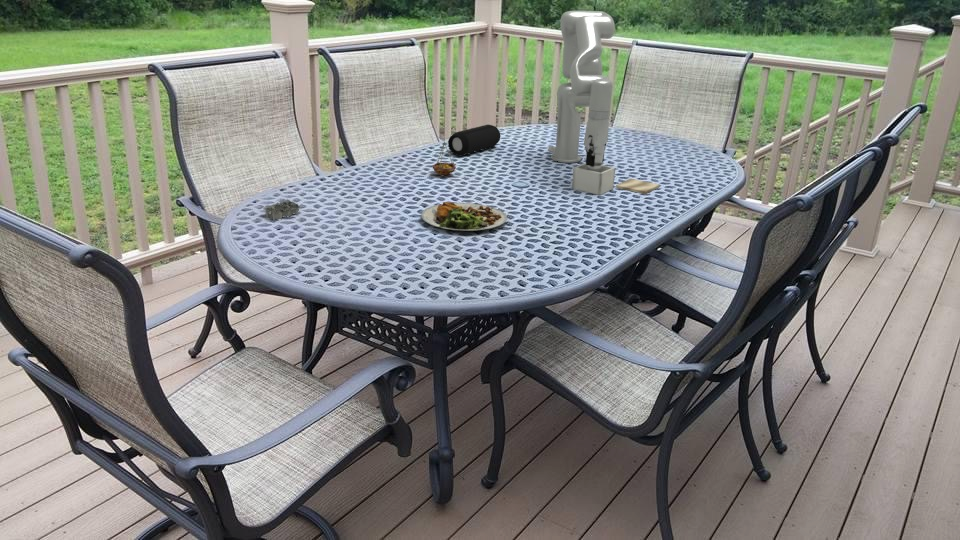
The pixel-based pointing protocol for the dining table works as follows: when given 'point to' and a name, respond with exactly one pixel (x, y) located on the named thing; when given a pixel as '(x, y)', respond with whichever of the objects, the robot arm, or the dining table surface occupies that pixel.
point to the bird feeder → (444, 167)
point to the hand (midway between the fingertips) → (594, 163)
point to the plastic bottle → (597, 159)
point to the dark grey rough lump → (281, 209)
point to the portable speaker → (473, 139)
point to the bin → (593, 179)
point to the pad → (637, 186)
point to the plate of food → (463, 216)
